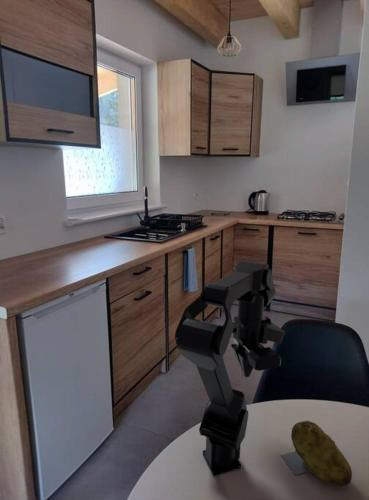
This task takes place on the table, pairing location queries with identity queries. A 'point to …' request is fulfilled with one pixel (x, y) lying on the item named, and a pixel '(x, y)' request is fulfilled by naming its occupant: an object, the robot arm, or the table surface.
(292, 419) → the table surface
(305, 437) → the potato
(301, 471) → the mat
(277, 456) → the table surface
